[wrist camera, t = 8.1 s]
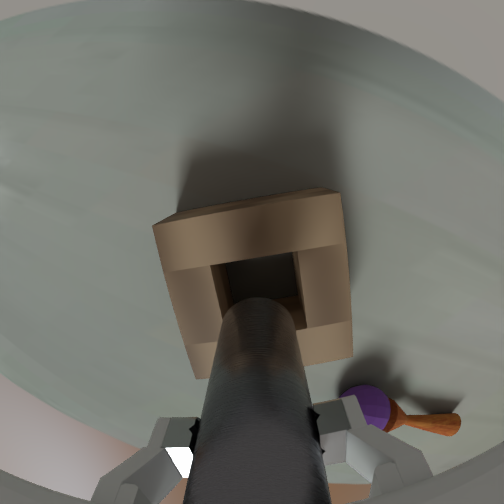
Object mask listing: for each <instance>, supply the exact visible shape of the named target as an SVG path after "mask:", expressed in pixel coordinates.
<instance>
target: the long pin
mask: <svg viewBox="0 0 504 504" xmlns="http://www.w3.org/2000/svg"><path fill="white" fill-rule="evenodd" d="M183 504H332V503H331V498H330V492H329V487H328V482H327V476H326V471H325V466H324V461H323V456H322V451H321V447H320V442H319V437H318V433H317V426H316V423H315V418H314V413H313V407H312V402H311V398H310V393H309V388H308V384H307V379H306V375H305V370H304V365H303V361H302V356H301V352H300V347H299V343H298V339H297V334H296V330H295V325H294V321H293V318H292V316H291V314H290V313H289V311H288V310H287V309H286V308H285V307H284V306H283V305H281V304H280V303H278V302H276V301H274V300H271V299H268V298H262V297H255V298H249V299H245V300H242V301H240V302H238V303H236V304H235V305H233V306H232V307H231V308H230V309H229V310H228V311H227V313H226V314H225V316H224V318H223V321H222V325H221V329H220V334H219V338H218V343H217V347H216V351H215V356H214V360H213V365H212V369H211V374H210V378H209V383H208V387H207V392H206V397H205V401H204V406H203V410H202V415H201V420H200V424H199V429H198V433H197V438H196V443H195V447H194V452H193V457H192V462H191V466H190V471H189V476H188V481H187V486H186V491H185V496H184V500H183Z"/></svg>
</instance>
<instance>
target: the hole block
mask: <svg viewBox="0 0 504 504" xmlns="http://www.w3.org/2000/svg"><path fill="white" fill-rule="evenodd" d="M152 227H153V232H154V236H155V240H156V244H157V248H158V252H159V257H160V260H161V264H162V268H163V272H164V276H165V280H166V283H167V287H168V291H169V294H170V298H171V301H172V305H173V308H174V312H175V315H176V319H177V322H178V325H179V329H180V332H181V335H182V338H183V342H184V345H185V348H186V351H187V354H188V357H189V360H190V363H191V366H192V369H193V372H194V375H195V378H196V379H206V378H210V374H211V369H212V365H213V360H214V356H215V351H216V347H217V343H218V338H219V334H220V329H221V325H222V321H223V318H224V316H225V314H226V313H227V311H228V310H229V309H230V308H231V307H232V306H233V305H234V302H233V298H232V293H231V289H230V284H229V279H228V274H227V270H226V265H225V263H227V262H233V261H239V260H245V259H251V258H257V257H263V256H270V255H276V254H282V253H288V252H292V257H293V264H294V271H295V278H296V285H297V293H298V295H296V296H290V297H284V298H278V299H272V300H274V301H276V302H278V303H280V304H281V305H283V306H284V307H285V308H286V309H287V310H288V311H289V313H290V314H291V316H292V318H293V321H294V325H295V330H296V334H297V339H298V343H299V347H300V352H301V356H302V361H303V365H304V366H308V365H314V364H319V363H325V362H330V361H335V360H340V359H345V358H349V357H353V336H352V312H351V295H350V280H349V268H348V256H347V246H346V236H345V227H344V218H343V210H342V202H341V195H340V193H339V192H336V191H333V190H329V189H326V188H322V187H320V188H313V189H307V190H300V191H294V192H287V193H281V194H275V195H269V196H263V197H257V198H251V199H245V200H240V201H234V202H229V203H223V204H218V205H213V206H207V207H202V208H197V209H192V210H187V211H182V212H177V213H175V214H173V215H171V216H169V217H167V218H165V219H163V220H162V221H160V222H158V223H156V224H154V225H152Z"/></svg>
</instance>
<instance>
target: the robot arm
mask: <svg viewBox="0 0 504 504" xmlns="http://www.w3.org/2000/svg"><path fill="white" fill-rule="evenodd" d="M313 413H314V418H315V423H316V426H317V433H318V437H319V442H320V447H321V451H322V456H323V461H324V466H325V465H331V464H336V463H342V462H346V463H347V464H348V465H349V466H351V467H352V468H353V469H354V470H355V471H357V472H358V473H359V474H360V475H362V476H363V477H364V478H365V479H367V480H368V481H369V482H370V483H372V485H371V490H370V495H369V498H367V499H364V500H360V501H355V502H352V503H347V504H504V441H503V442H501V443H500V444H498V445H496V446H494V447H493V448H491V449H489V450H487V451H486V452H484V453H482V454H480V455H478V456H476V457H474V458H472V459H470V460H468V461H466V462H464V463H462V464H460V465H458V466H456V467H454V468H451V469H449V470H447V471H445V472H442V473H440V474H438V475H435V476H433V474H432V472H431V470H430V468H429V466H428V464H427V462H426V459H425V457H424V455H423V453H422V451H421V450H419V449H417V448H415V447H413V446H411V445H409V444H407V443H405V442H403V441H401V440H399V439H398V438H396V437H394V436H392V435H390V434H388V433H386V432H385V431H383V430H381V429H379V428H377V427H376V426H374V425H372V424H370V425H367V423H366V420H365V418H364V415H363V413H362V410H361V408H360V405H359V403H358V400H357V398H356V396H355V395H351V396H346V397H342V398H338V399H334V400H329V401H324V402H319V403H314V404H313ZM199 424H200V418H198V417H172V418H166V417H160V418H159V419H158V420H157V422H156V424H155V427H154V430H153V432H152V435H151V438H150V440H149V443H148V446H147V447H143V448H142V449H140V450H139V451H138V452H136V453H135V454H134V455H132V456H131V457H130V458H129V459H127V460H126V461H124V462H123V463H121V464H120V465H119V466H117V467H116V468H114V469H113V470H112V471H110V472H109V473H107V474H106V475H104V476H103V477H101V478H100V480H99V483H98V485H97V487H96V489H95V492H94V494H93V496H92V498H91V501H87V500H83V499H80V498H76V497H73V496H69V495H66V494H63V493H60V492H57V491H53V490H51V489H48V488H45V487H42V486H39V485H36V484H34V483H31V482H29V481H26V480H24V479H21V478H19V477H16V476H14V475H12V474H9V473H7V472H5V471H3V470H1V469H0V504H159V503H160V502H161V501H162V500H163V499H164V497H166V495H168V493H169V492H170V491H171V490H172V489H173V488H174V487H175V486H176V485H177V484H178V483H179V482H180V480H181V479H182V477H188V476H189V471H190V466H191V462H192V457H193V452H194V447H195V443H196V438H197V433H198V429H199Z"/></svg>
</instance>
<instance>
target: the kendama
mask: <svg viewBox="0 0 504 504" xmlns="http://www.w3.org/2000/svg"><path fill="white" fill-rule="evenodd" d="M351 395H355V396H356V398H357V400H358V403H359V405H360V408H361V410H362V413H363V415H364V418H365V420H366V423H367V425H370V424H372V425H374V426H376V427H377V428H379V429H381V430H383V431H385V432H386V433H387V432H390V431H392V430H394V429H396V428H398V427H400V426H402V425H404V424H405V425H408V426H412V427H415V428H419V429H422V430H426V431H430V432H433V433H437V434H441V435H445V436H452V435H454V434H456V433H457V432H458V430H459V428H460V426H461V419H460V416H459V415H458V414H456V413H450V414H432V415H406V414H405V413H404V411H403V410H402V409H401V408H400V407H399V406H398V404H397V403H396V402H395V401H394V400H392V399H390V398H387V396H386V395H385V394H384V393H383V391H382V390H380V389H378V388H376V387H374V386H370V385H360V386H355V387H351V388H350V389H348V390H347V391H345V392H344V393H343V394H342V395H341V396H340V397H339V398H342V397H346V396H351Z"/></svg>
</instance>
